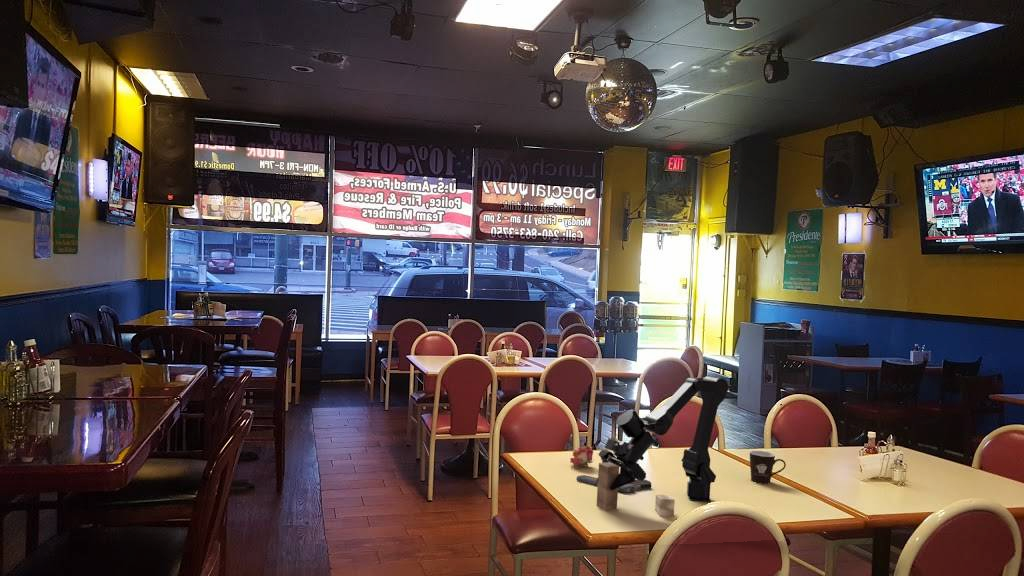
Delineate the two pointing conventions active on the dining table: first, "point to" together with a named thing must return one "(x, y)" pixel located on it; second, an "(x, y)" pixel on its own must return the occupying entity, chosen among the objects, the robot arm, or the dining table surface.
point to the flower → (582, 456)
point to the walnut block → (607, 486)
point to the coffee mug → (762, 466)
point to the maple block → (664, 505)
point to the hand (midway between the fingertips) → (603, 485)
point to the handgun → (626, 488)
